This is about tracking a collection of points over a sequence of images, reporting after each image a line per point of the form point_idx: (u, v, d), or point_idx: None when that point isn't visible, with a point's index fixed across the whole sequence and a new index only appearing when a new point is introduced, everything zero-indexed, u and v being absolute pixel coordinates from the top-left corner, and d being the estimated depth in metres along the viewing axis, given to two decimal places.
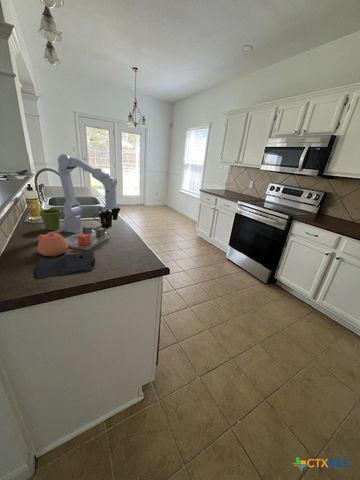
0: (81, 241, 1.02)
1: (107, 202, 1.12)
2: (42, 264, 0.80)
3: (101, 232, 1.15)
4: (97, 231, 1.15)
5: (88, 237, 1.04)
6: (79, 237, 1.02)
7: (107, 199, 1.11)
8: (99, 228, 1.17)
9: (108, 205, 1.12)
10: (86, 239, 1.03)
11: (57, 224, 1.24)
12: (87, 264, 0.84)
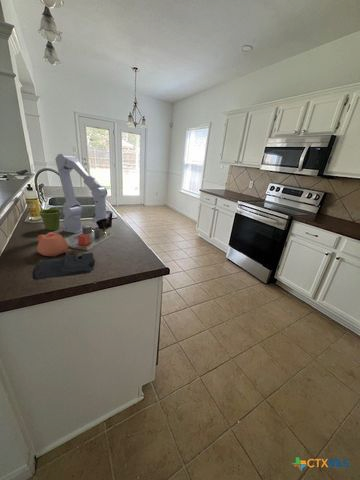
0: (81, 241, 1.02)
1: (97, 212, 1.12)
2: (41, 264, 0.79)
3: (99, 233, 1.14)
4: (95, 232, 1.13)
5: (88, 237, 1.04)
6: (79, 237, 1.02)
7: (97, 210, 1.11)
8: (97, 229, 1.16)
9: (98, 215, 1.12)
10: (86, 239, 1.03)
11: (57, 224, 1.24)
12: (86, 265, 0.84)
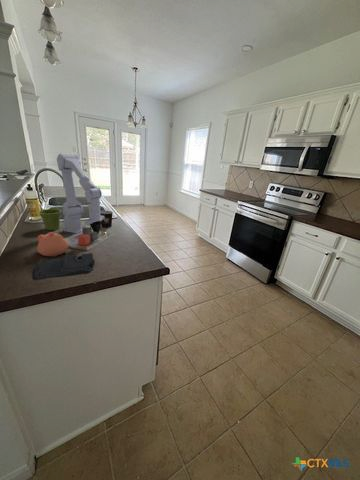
0: (81, 241, 1.02)
1: (91, 215, 1.07)
2: (41, 265, 0.79)
3: (93, 236, 1.09)
4: None
5: (88, 237, 1.04)
6: (79, 237, 1.02)
7: (90, 212, 1.06)
8: (91, 232, 1.11)
9: (92, 218, 1.07)
10: (86, 239, 1.03)
11: (57, 224, 1.24)
12: (86, 265, 0.83)
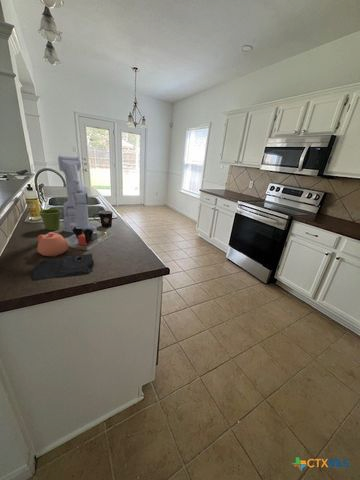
0: (81, 241, 1.02)
1: None
2: (40, 265, 0.79)
3: (93, 236, 1.09)
4: None
5: None
6: (79, 237, 1.02)
7: None
8: None
9: None
10: None
11: (57, 224, 1.24)
12: (85, 266, 0.83)
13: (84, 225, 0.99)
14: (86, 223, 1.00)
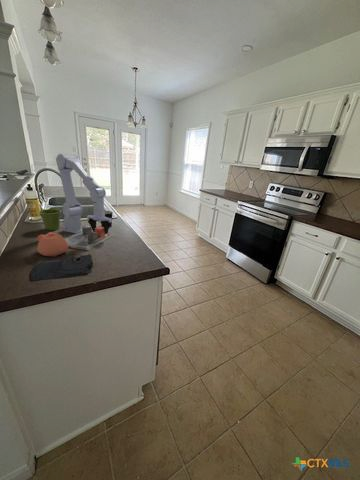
0: (97, 233, 1.15)
1: None
2: (38, 266, 0.78)
3: (93, 236, 1.09)
4: (89, 235, 1.08)
5: (103, 229, 1.16)
6: (96, 229, 1.14)
7: None
8: (91, 232, 1.11)
9: None
10: (102, 231, 1.15)
11: (57, 224, 1.24)
12: (84, 267, 0.82)
13: (101, 217, 1.11)
14: (102, 215, 1.12)
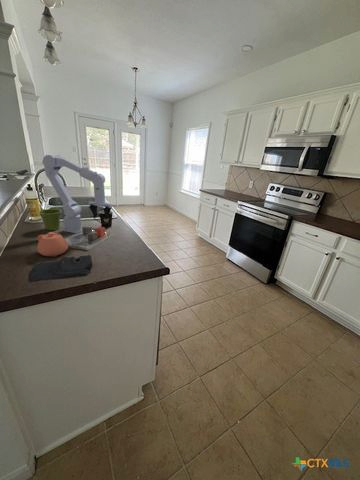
0: (97, 233, 1.15)
1: None
2: (38, 266, 0.78)
3: (93, 236, 1.09)
4: (89, 235, 1.08)
5: (103, 229, 1.16)
6: (96, 229, 1.14)
7: None
8: (91, 232, 1.11)
9: None
10: (102, 231, 1.15)
11: (57, 224, 1.24)
12: (83, 268, 0.81)
13: (101, 202, 1.17)
14: (103, 201, 1.18)
